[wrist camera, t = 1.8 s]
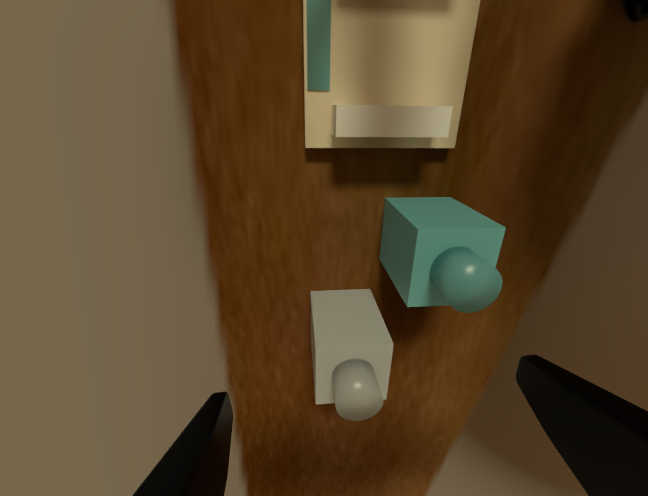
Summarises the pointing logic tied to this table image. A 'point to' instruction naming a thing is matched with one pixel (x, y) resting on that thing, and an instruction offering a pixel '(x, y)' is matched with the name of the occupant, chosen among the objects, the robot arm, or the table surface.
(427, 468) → the table surface
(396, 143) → the backplate with mounted blocks
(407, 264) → the teal plug
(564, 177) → the table surface
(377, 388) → the grey plug
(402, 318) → the table surface
